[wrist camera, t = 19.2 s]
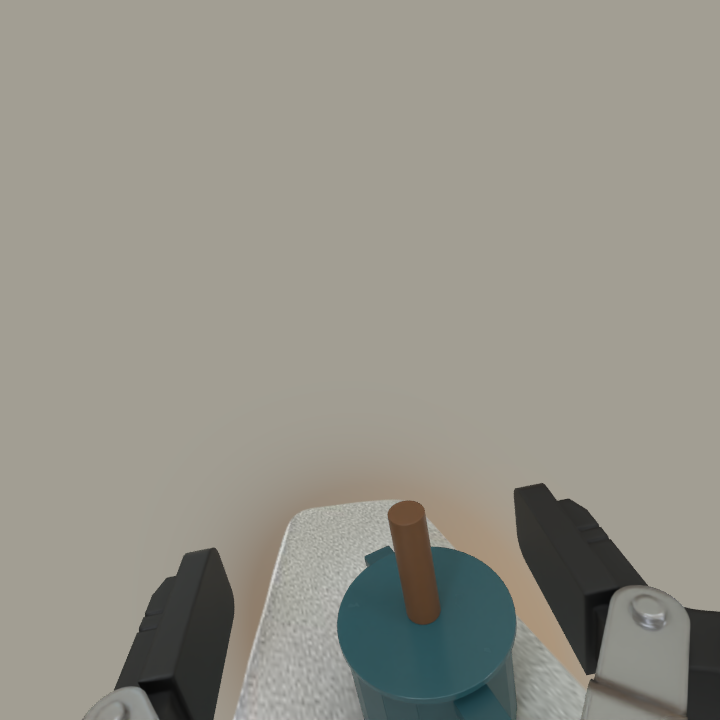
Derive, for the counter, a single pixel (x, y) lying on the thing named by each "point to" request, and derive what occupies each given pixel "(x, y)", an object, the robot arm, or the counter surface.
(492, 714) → the cooking pot
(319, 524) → the counter surface
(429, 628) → the lid
